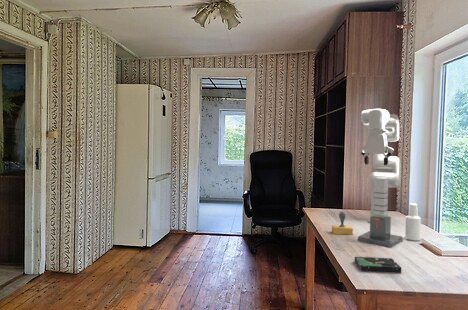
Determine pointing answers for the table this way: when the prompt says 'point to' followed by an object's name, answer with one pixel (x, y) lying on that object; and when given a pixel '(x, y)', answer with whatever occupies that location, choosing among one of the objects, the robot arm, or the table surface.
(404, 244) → the table surface
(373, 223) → the jack stand base
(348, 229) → the rubber stamp
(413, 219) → the spray bottle
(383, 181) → the block
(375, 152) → the robot arm
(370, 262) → the disk drive
